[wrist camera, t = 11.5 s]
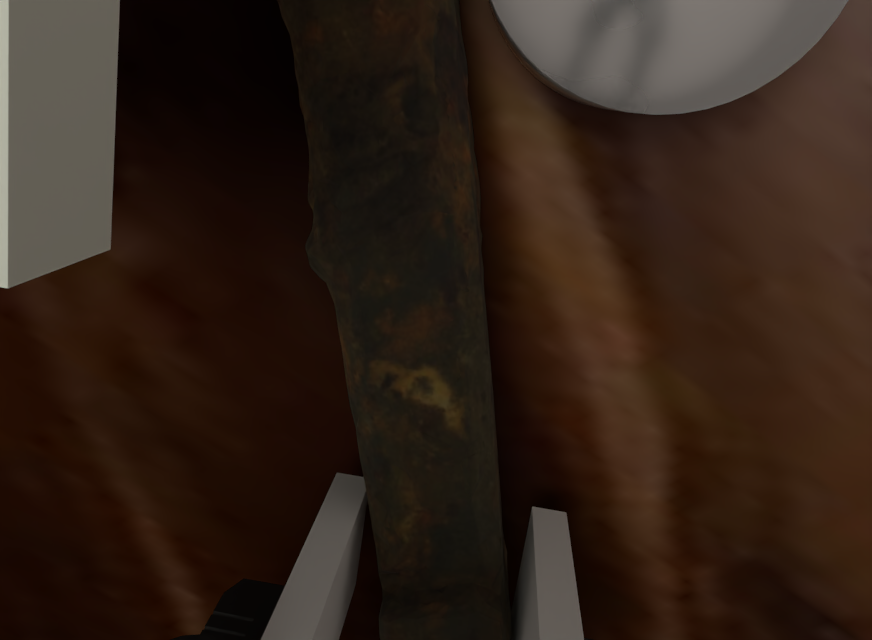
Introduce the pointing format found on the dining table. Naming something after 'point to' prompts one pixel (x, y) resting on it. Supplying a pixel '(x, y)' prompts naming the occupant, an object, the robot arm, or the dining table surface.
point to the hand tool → (408, 300)
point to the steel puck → (660, 47)
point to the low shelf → (56, 133)
